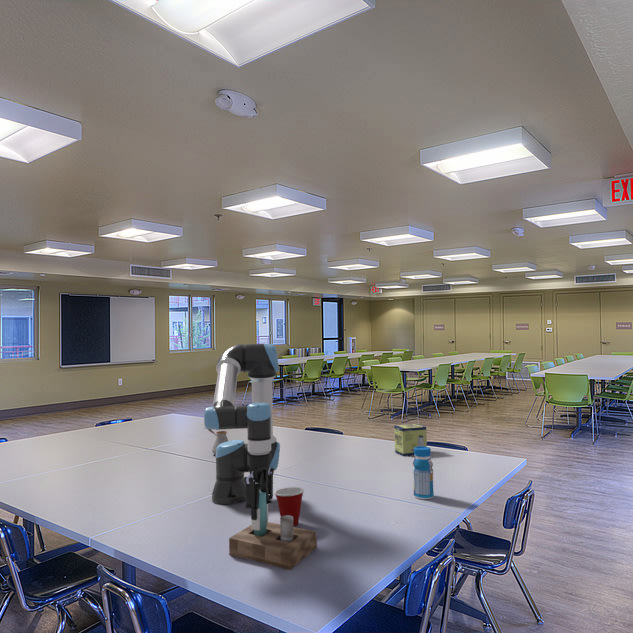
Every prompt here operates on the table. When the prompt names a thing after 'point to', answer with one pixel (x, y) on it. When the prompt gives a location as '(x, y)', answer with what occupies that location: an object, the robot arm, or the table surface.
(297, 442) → the table surface
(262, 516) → the teal peg
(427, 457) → the beverage bottle
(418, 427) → the protein box
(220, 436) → the coffee pot
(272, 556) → the bore block
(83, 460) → the table surface
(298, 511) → the plastic cup
